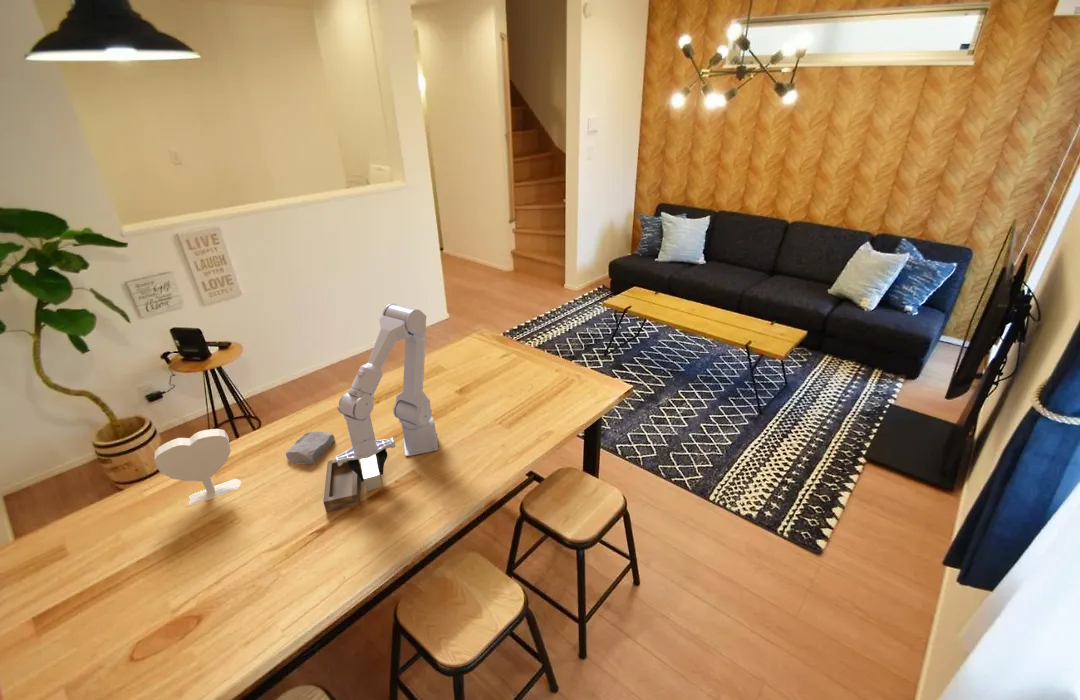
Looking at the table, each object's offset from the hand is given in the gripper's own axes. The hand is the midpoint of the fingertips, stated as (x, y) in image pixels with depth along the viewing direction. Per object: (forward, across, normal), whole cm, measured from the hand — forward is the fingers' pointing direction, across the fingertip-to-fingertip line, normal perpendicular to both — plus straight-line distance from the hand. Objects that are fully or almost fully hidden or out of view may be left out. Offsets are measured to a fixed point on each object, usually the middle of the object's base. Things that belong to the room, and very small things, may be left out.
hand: (371, 475), depth 130 cm
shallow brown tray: (+3, +7, -3) cm, 8 cm away
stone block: (+3, +13, -24) cm, 27 cm away
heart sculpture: (+3, +38, -19) cm, 42 cm away
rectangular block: (+3, 0, -4) cm, 5 cm away
